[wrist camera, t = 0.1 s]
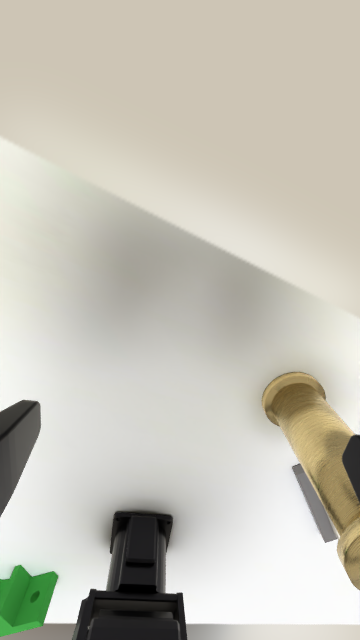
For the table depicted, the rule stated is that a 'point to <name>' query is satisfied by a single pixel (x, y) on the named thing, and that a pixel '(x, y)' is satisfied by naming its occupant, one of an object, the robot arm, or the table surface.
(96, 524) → the table surface
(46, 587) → the green notched block
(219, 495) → the table surface
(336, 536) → the socket plate
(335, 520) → the brass fitting
